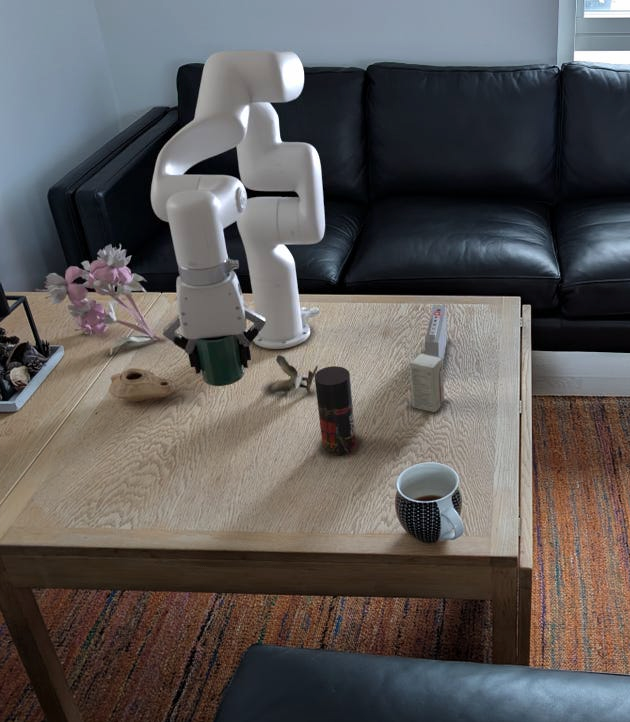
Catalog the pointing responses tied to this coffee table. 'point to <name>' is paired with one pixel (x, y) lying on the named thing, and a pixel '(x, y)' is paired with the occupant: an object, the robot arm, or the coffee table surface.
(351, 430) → the deodorant
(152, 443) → the coffee table surface
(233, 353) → the pot
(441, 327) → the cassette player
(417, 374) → the beige box
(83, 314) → the flower
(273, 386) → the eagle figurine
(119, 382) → the pottery oil lamp
